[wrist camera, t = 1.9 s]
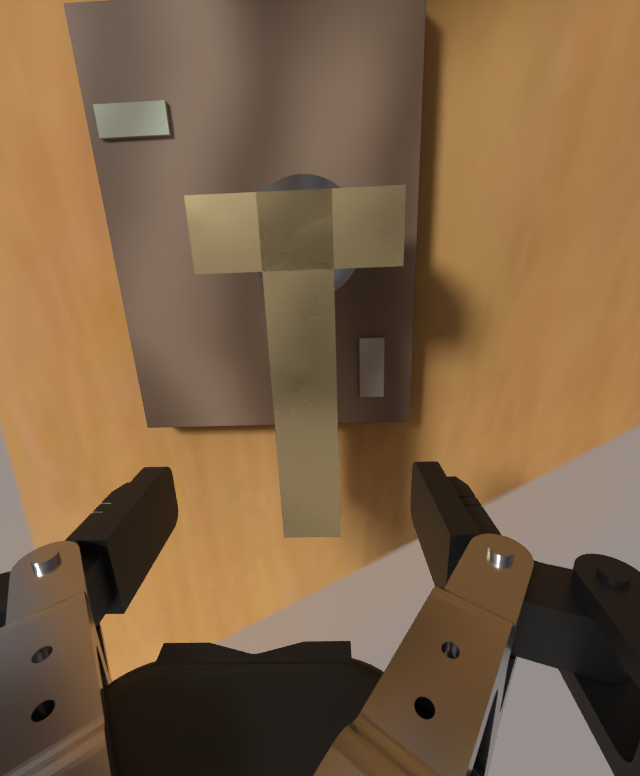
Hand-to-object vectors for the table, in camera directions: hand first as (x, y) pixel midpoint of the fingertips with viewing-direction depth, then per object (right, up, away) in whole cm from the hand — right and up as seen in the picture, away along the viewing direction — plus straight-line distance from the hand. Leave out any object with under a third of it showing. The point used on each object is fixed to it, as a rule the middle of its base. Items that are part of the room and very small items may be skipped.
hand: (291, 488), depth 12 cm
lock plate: (-2, +10, +6) cm, 12 cm away
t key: (+1, +5, +6) cm, 8 cm away
